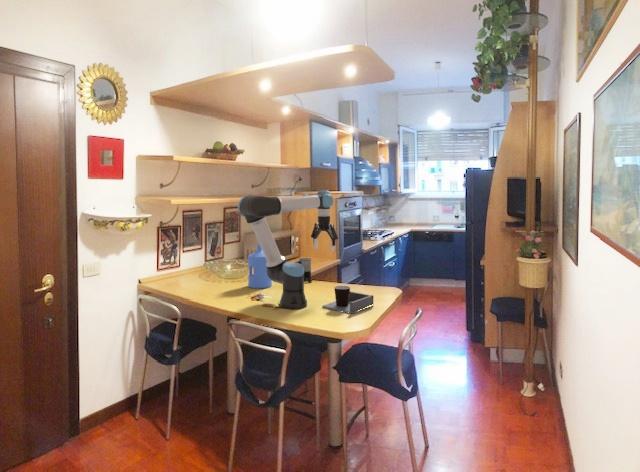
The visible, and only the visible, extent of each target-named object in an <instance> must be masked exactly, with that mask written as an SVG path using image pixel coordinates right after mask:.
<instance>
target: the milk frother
mask: <svg viewBox="0 0 640 472" xmlns="http://www.w3.org/2000/svg"><path fill="white" fill-rule="evenodd" d="M298 259H299V260H297V261H295V262H294V263H299V264H301V265H303V267H304V281H308V282H309V283H311V282H313V279H312V258H309V257H301V258H298Z"/></svg>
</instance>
